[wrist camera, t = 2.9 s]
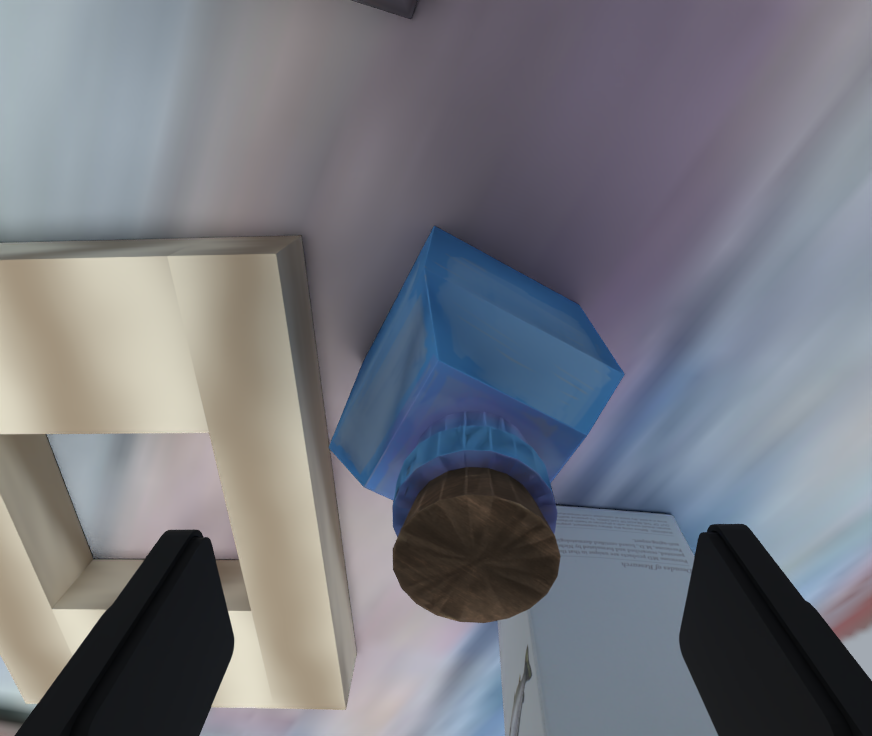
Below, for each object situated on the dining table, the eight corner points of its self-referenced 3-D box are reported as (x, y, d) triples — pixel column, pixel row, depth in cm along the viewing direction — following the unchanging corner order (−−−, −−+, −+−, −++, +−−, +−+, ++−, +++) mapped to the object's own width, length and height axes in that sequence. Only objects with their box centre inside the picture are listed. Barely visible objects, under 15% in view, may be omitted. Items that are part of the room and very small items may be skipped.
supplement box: (510, 497, 24) (556, 837, 13) (676, 511, 24) (872, 864, 13) (492, 615, 27) (515, 975, 16) (638, 628, 27) (769, 997, 16)
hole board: (301, 235, 20) (276, 253, 17) (356, 653, 29) (345, 709, 26) (-116, 245, 20) (-205, 264, 18) (65, 650, 30) (26, 703, 27)
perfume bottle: (579, 304, 20) (716, 514, 10) (495, 428, 23) (528, 710, 12) (434, 225, 19) (402, 357, 9) (362, 363, 22) (264, 605, 11)
